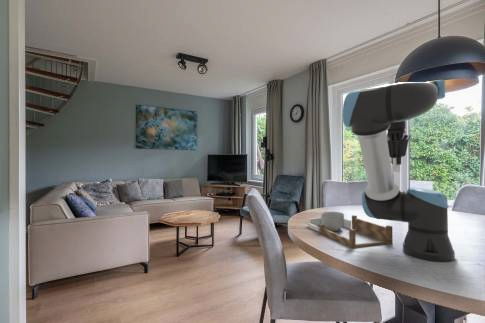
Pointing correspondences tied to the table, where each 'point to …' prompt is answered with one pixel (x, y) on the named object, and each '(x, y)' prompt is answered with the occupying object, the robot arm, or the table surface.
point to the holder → (317, 221)
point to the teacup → (332, 220)
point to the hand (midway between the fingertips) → (396, 171)
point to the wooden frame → (362, 227)
